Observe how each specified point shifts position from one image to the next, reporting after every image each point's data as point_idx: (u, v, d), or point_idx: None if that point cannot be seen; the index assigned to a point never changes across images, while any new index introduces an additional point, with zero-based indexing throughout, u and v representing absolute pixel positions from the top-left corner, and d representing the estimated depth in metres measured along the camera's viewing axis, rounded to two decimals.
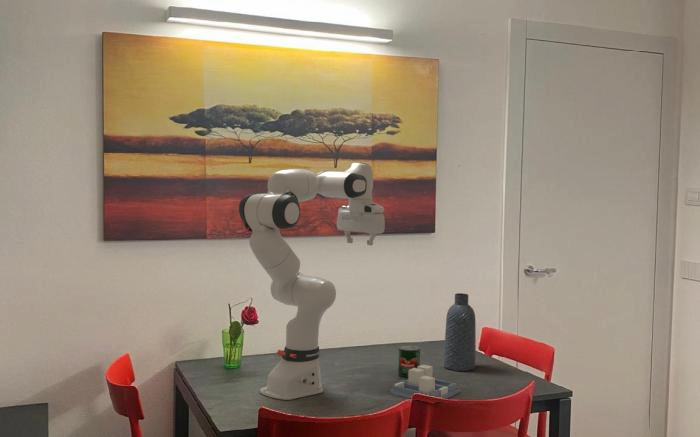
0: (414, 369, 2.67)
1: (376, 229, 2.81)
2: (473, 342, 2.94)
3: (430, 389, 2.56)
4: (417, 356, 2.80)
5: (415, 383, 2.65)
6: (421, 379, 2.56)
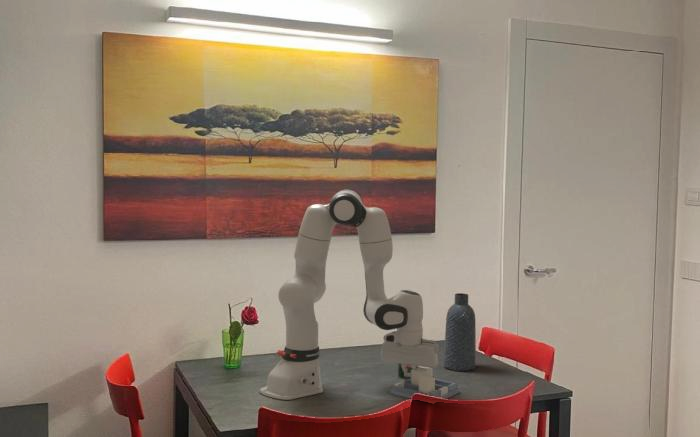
0: (417, 370, 2.66)
1: None
2: (473, 342, 2.94)
3: (430, 389, 2.56)
4: None
5: (418, 384, 2.64)
6: (421, 379, 2.56)
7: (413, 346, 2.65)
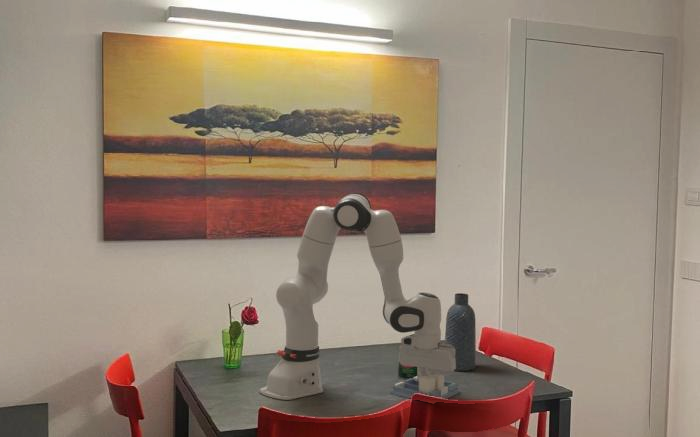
0: (434, 373, 2.62)
1: None
2: (473, 342, 2.94)
3: (430, 389, 2.56)
4: None
5: (435, 388, 2.60)
6: (421, 379, 2.56)
7: (430, 350, 2.60)
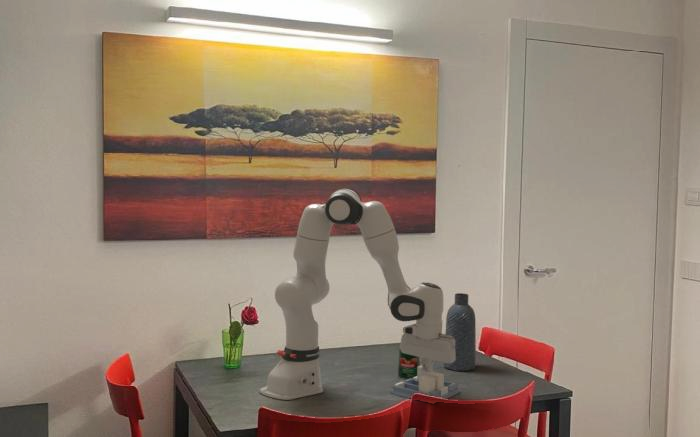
0: (434, 373, 2.62)
1: None
2: (473, 342, 2.94)
3: (430, 389, 2.56)
4: None
5: (435, 388, 2.60)
6: (421, 379, 2.56)
7: (430, 340, 2.60)
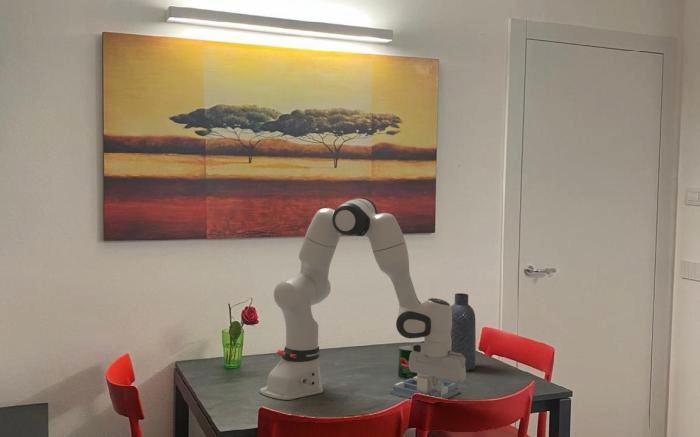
0: None
1: None
2: (473, 342, 2.94)
3: (428, 388, 2.56)
4: None
5: None
6: (419, 379, 2.57)
7: (439, 358, 2.51)
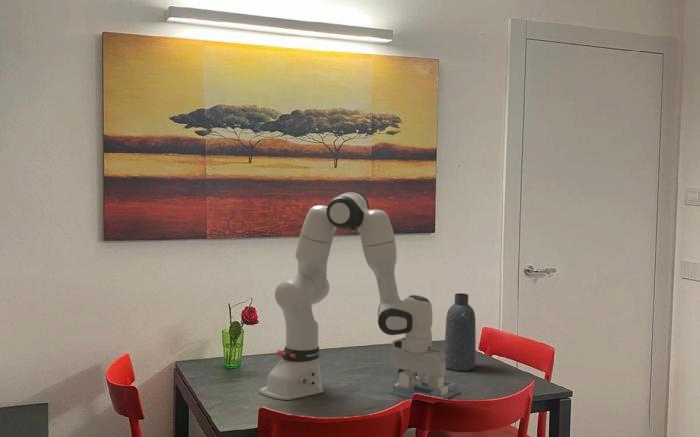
0: None
1: None
2: (473, 342, 2.94)
3: (410, 384, 2.61)
4: None
5: (435, 388, 2.60)
6: (401, 374, 2.61)
7: (420, 354, 2.56)
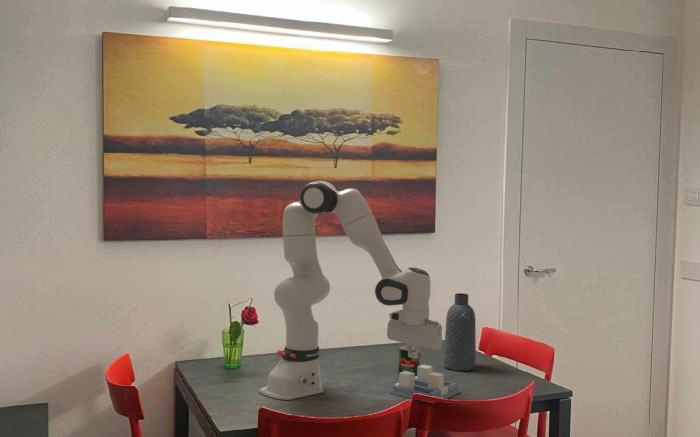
0: (434, 373, 2.62)
1: None
2: (473, 342, 2.94)
3: (410, 384, 2.61)
4: None
5: (435, 388, 2.60)
6: (401, 374, 2.61)
7: (417, 326, 2.56)
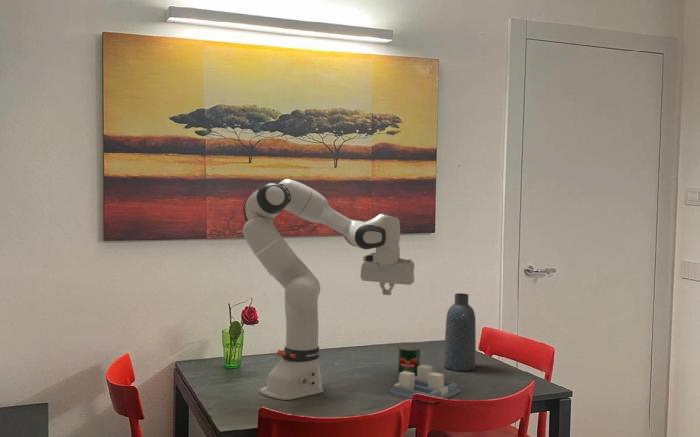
0: (434, 373, 2.62)
1: None
2: (473, 342, 2.94)
3: (410, 384, 2.61)
4: (417, 356, 2.80)
5: (435, 388, 2.60)
6: (401, 374, 2.61)
7: (391, 265, 2.83)
